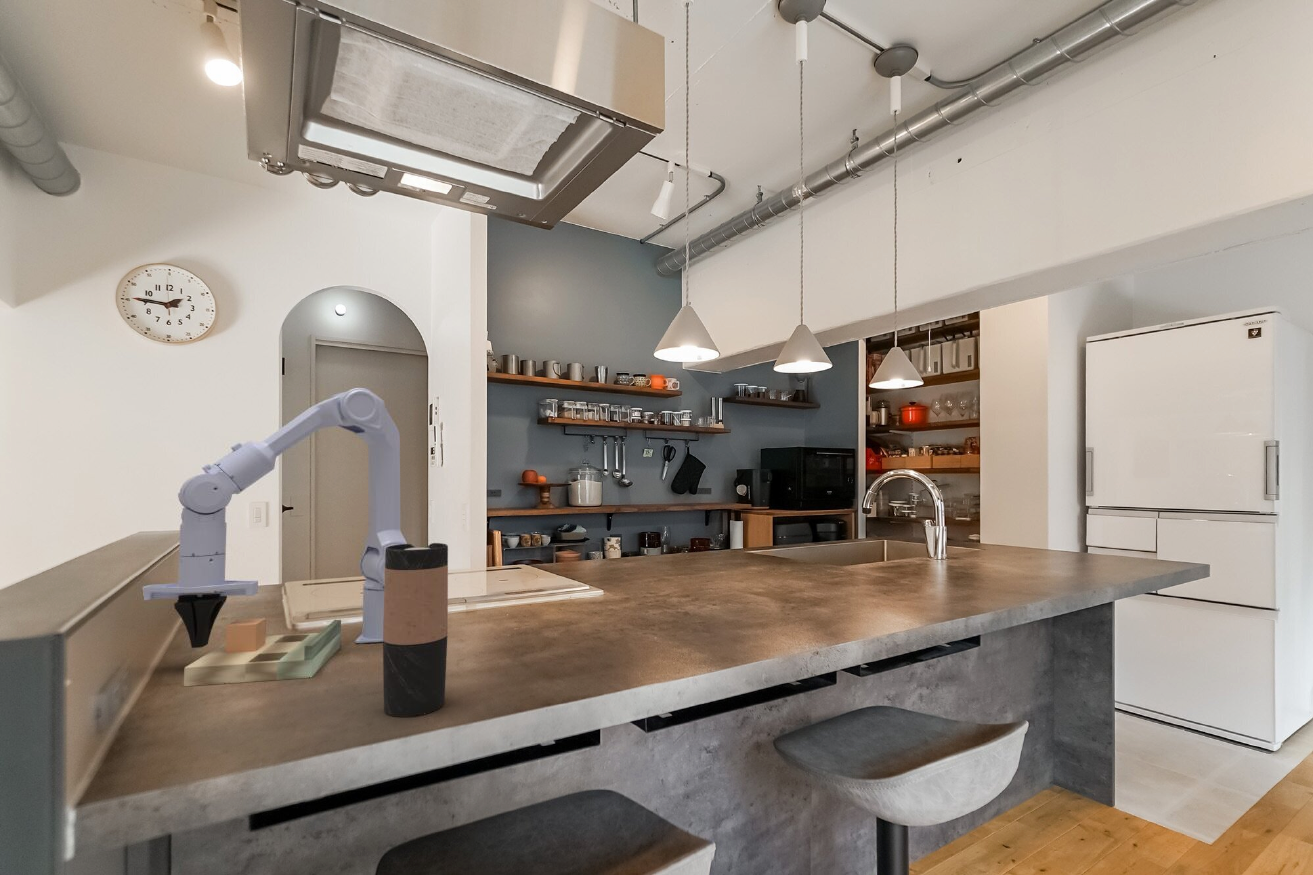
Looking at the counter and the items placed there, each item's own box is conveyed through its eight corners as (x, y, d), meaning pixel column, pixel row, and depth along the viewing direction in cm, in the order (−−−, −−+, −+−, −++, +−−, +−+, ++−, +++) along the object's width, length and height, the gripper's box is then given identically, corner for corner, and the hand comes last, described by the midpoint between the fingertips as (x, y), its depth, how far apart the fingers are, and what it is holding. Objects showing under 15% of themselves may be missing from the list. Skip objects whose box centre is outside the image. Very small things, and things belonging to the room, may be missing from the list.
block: (265, 644, 99) (266, 618, 99) (255, 651, 95) (256, 624, 95) (236, 645, 98) (237, 619, 98) (225, 653, 94) (226, 625, 95)
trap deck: (340, 646, 106) (341, 619, 107) (311, 677, 91) (312, 645, 91) (233, 653, 103) (234, 625, 103) (183, 686, 87) (184, 653, 87)
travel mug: (407, 723, 75) (410, 551, 76) (368, 709, 79) (371, 547, 80) (459, 702, 81) (461, 544, 82) (420, 691, 85) (422, 541, 86)
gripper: (266, 549, 101) (264, 635, 100) (161, 552, 98) (158, 641, 97) (248, 555, 94) (245, 648, 94) (135, 558, 91) (131, 654, 90)
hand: (199, 645), depth 95 cm, fingers closed
